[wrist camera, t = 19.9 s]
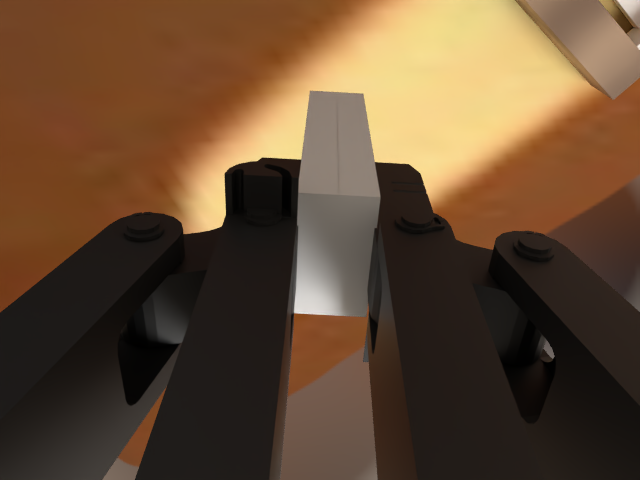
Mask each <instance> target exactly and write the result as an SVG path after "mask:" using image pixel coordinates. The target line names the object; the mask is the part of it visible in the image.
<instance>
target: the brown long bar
mask: <svg viewBox="0 0 640 480" xmlns="http://www.w3.org/2000/svg"><path fill="white" fill-rule="evenodd" d="M515 1H516V2H517V3H518V4H519V5H520V6H521V7H522V9H523V10H524V11H525V12H526V13H527V14H528V15H529V16H530V17H531V19H532V20H533V21H534V22H535V23H536V24H537V25H538V26H539V28H540V29H541V30H542V31H543V32H544V33H545V34H546V35H547V36H548V38H549V39H550V40H551V41H552V42H553V43H554V44H555V45H556V47H557V48H558V49H559V50H560V51H561V52H562V53H563V54H564V56H565V57H566V58H567V59H568V60H569V61H570V62H571V63H572V64H573V66H574V67H575V68H576V69H577V70H578V71H579V72H580V73H581V75H582V76H583V77H584V78H585V79H586V80H587V81H588V82H589V83H590V85H592V86H593V87H595V88H596V89H598V90H599V91H601V92H602V93H604V94H605V95H607V96H608V97H610V98H611V99H613V100H614V99H615V98H616V97H617V96H619V95H620V94H621V93H622V92H623V91H624V90H626V89H627V88H628V87H629V86H630V85H631V84H633V83H634V82H635V81H636V80H637V79H638V78H640V50H639V49H638V48H637V46H636V45H635V44H634V43H633V41H632V40H631V39H630V38H629V37H628V35H627V34H626V33H625V32H624V31H623V29H622V28H621V27H620V26H619V25H618V23H617V22H616V21H615V20H614V19H613V17H612V16H611V15H610V14H609V12H608V11H607V10H606V9H605V8H604V6H603V5H602V4H601V3H600V2H599V0H515Z"/></svg>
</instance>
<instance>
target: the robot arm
mask: <svg viewBox="0 0 640 480" xmlns="http://www.w3.org/2000/svg"><path fill="white" fill-rule="evenodd" d="M423 184H424V183H423V180H422V177H421V174H420V173H419V172H418V171H417V170H415V169H414V168H413V167H412V166H410V165H409V164H396V163H378V162H375V161H374V155H373V149H372V143H371V137H370V131H369V125H368V119H367V113H366V107H365V101H364V95H363V94H358V93H341V92H323V91H310V95H309V103H308V111H307V119H306V127H305V135H304V143H303V151H302V159H301V160H296V159H278V158H261V159H260V160H258V161H255V162H247V163H241V164H238V165H236V166H233V167H231V168H229V169H228V170H227V172H226V173H225V197H226V217H225V219H224V222H223V225H222V227H220V228H217V229H214V230H211V231H205V232H200V233H191V234H183V228H182V224H181V222H180V221H178V220H177V219H176V218H174V217H172V216H168V215H165V214H159V213H152V212H144V213H135V214H133V215H130V216H127V217H123V218H120V219H119V220H117V221H115V222H113V223H112V224H110V225H109V226H107V227H106V228H105V229H104V230H103V231H101V232H100V233H99V234H98V235H96V236H95V237H94V238H93V239H91V240H90V241H89V242H88V243H86V244H85V245H84V246H83V247H81V248H80V249H79V250H78V251H76V252H75V253H74V254H73V255H71V256H70V257H69V258H68V259H66V260H65V261H64V262H63V263H61V264H60V265H59V266H58V267H57V268H55V269H54V270H53V271H52V272H50V273H49V274H48V275H47V276H45V277H44V278H43V279H42V280H40V281H39V282H38V283H37V284H35V285H34V286H33V287H32V288H30V289H29V290H28V291H27V292H25V293H24V294H23V295H22V296H20V297H19V298H18V299H17V300H16V301H14V302H13V303H12V304H11V305H9V306H8V307H7V308H6V309H4V310H3V311H2V312H1V313H0V480H102V479H103V478H104V476H105V475H106V473H107V472H108V470H109V469H110V467H111V466H112V465H113V463H114V462H115V460H116V459H117V457H118V456H119V454H120V453H121V451H122V450H123V449H124V447H125V446H126V444H127V443H128V441H129V440H130V438H131V437H132V436H133V434H134V433H135V431H136V430H137V428H138V427H139V425H140V424H141V423H142V421H143V420H144V418H145V417H146V415H147V414H148V412H149V411H150V409H151V408H152V407H153V405H154V404H155V402H156V401H157V399H158V398H159V396H160V395H161V394H162V392H163V391H164V389H165V388H166V386H167V388H166V391H165V394H164V397H163V400H162V402H161V405H160V408H159V411H158V414H157V417H156V420H155V423H154V426H153V429H152V431H151V434H150V437H149V440H148V443H147V446H146V449H145V452H144V455H143V458H142V461H141V463H140V466H139V469H138V472H137V475H136V478H135V480H280V474H281V462H282V451H283V440H284V429H285V416H286V406H287V395H288V384H289V373H290V362H291V350H292V339H293V327H294V313H302V314H321V315H339V316H358V317H366V315H367V306H368V304H369V317H368V325H367V333H366V341H365V349H364V358H363V362H369V370H370V384H371V397H372V409H373V424H374V437H375V449H376V463H377V475H378V480H640V312H639V311H638V310H637V309H635V308H634V307H633V306H632V305H631V304H630V303H629V302H628V301H626V300H625V299H624V298H623V297H622V296H621V295H620V294H619V293H618V292H616V291H615V290H614V289H613V288H612V287H611V286H610V285H609V284H607V283H606V282H605V281H604V280H603V279H602V278H601V277H600V276H598V275H597V274H596V273H595V272H594V271H593V270H592V269H590V268H589V267H588V266H587V265H586V264H585V263H584V262H583V261H581V260H580V259H579V258H578V257H577V256H576V255H575V254H574V253H572V252H571V251H570V250H569V249H568V248H567V247H565V246H564V245H562V244H561V243H559V242H558V241H556V240H554V239H551V238H549V237H547V236H545V235H544V234H541V233H537V232H536V233H534V232H532V231H512V232H507V233H503V234H501V235H500V236H498V237H497V238H496V241H495V245H494V249H493V250H490V249H486V248H482V247H477V246H473V245H469V244H466V243H463V242H460V241H458V240H456V239H455V236H454V233H453V231H452V228H451V226H450V225H449V223H448V222H447V221H446V220H445V219H444V218H442V217H440V216H439V215H437V214H435V213H433V210H432V207H431V204H430V201H429V198H428V195H427V194H426V189H425V186H424V185H423ZM546 340H547V341H548V342H549V344H550V346H551V347H552V349H553V352H554V355H555V357H554V358H553V359H552V358H551V357H550V356H549V355H548V354H547V353H546V351H545V350H544V349H543V348H544V345H545V342H546Z"/></svg>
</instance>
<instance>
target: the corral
mask: <svg viewBox="0 0 640 480" xmlns="http://www.w3.org/2000/svg"><path fill="white" fill-rule="evenodd" d="M613 1H614V2H615V4H616V5H617V6H618V8H619V9H620V10H621V11H622V13H623V14H624V15H625V17H626V18H627V19H628V20H629V22H630V23H631V24H632V26H633V28H632V29H631V30H630V31H629V32H628V33H627V35H628V37H629V38H630V39H631V40H632V41H633V43H634V44H635V45H636V46H637V48H638V49H639V50H640V0H613Z"/></svg>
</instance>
